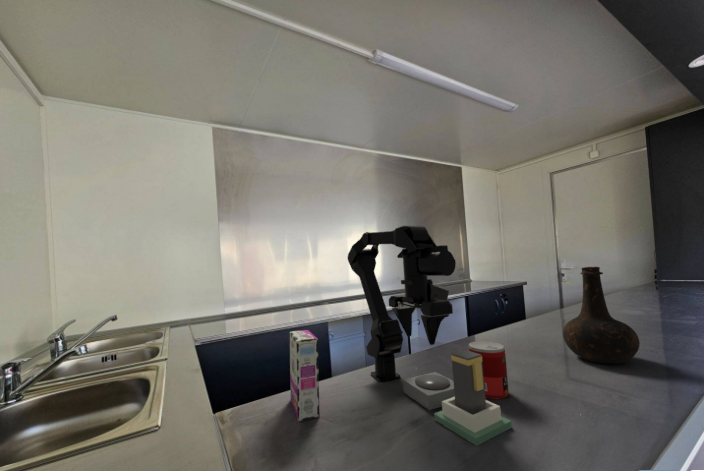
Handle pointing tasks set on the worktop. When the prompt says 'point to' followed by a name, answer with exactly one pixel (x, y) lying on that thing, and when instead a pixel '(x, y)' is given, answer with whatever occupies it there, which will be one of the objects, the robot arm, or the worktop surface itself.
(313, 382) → the candy bar box
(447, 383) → the grey domed square block
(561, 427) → the worktop surface
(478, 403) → the dark grey tall block
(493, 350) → the canned food
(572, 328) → the glass bottle
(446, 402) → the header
